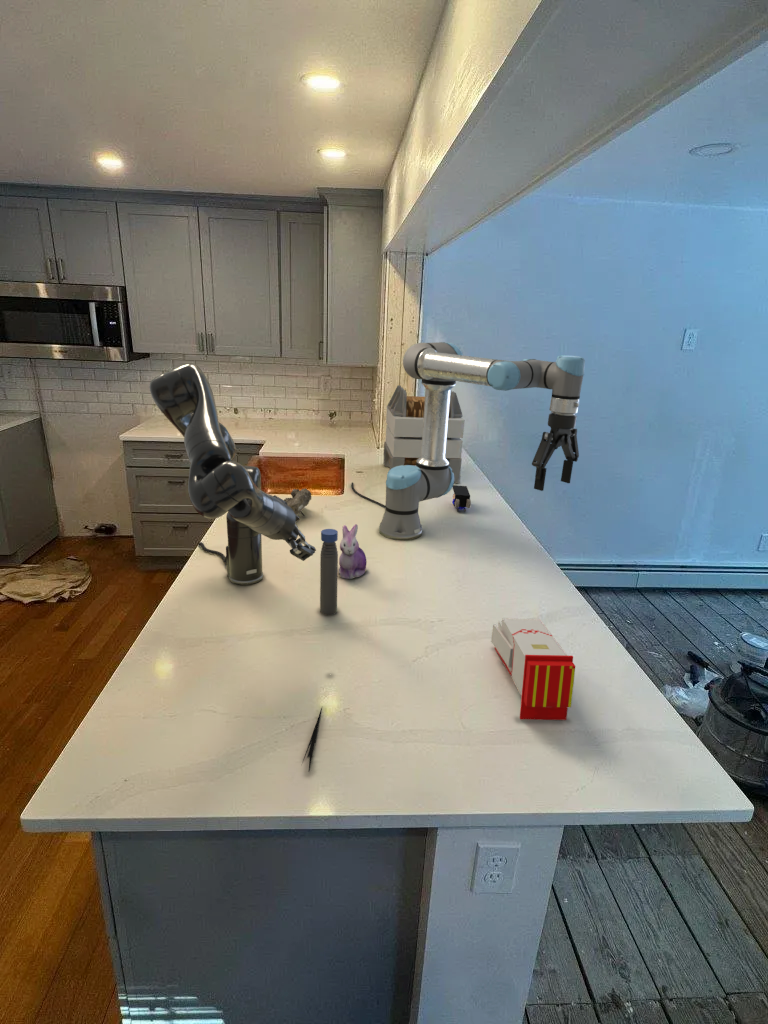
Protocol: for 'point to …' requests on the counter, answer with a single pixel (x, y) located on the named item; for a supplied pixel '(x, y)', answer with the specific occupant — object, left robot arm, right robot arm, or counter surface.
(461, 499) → the figurine character
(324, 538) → the cap
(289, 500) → the fossil
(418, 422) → the white wooden crate
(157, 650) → the counter surface
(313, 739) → the feather
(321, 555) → the bottle
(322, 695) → the counter surface
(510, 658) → the toy
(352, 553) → the figurine
